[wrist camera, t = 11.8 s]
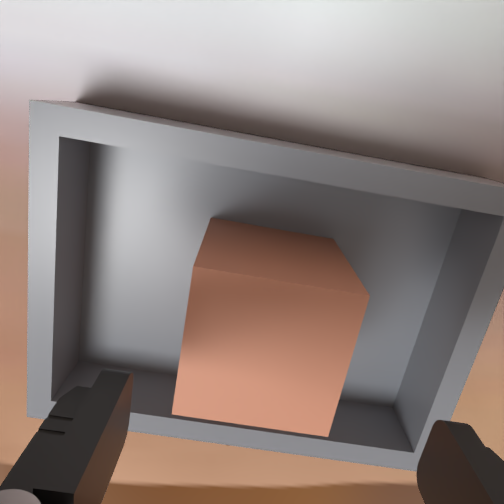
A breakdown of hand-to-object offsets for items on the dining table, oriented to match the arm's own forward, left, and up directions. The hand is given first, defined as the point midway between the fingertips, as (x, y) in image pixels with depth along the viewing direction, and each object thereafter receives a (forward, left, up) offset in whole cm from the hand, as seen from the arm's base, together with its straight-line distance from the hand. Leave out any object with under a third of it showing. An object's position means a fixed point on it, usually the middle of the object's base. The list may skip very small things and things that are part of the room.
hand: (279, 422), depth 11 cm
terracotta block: (0, 0, -9) cm, 9 cm away
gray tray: (0, 0, -10) cm, 10 cm away
